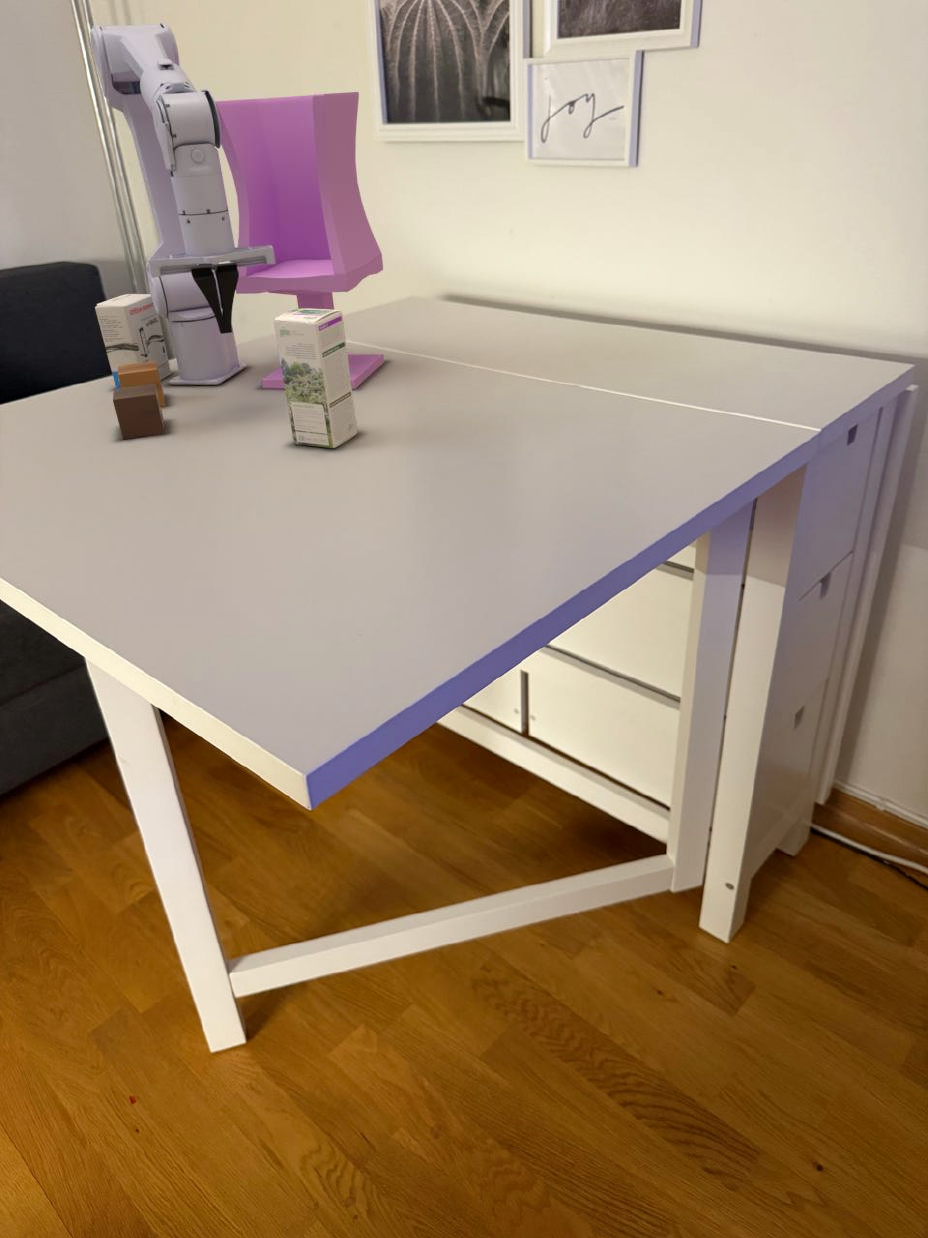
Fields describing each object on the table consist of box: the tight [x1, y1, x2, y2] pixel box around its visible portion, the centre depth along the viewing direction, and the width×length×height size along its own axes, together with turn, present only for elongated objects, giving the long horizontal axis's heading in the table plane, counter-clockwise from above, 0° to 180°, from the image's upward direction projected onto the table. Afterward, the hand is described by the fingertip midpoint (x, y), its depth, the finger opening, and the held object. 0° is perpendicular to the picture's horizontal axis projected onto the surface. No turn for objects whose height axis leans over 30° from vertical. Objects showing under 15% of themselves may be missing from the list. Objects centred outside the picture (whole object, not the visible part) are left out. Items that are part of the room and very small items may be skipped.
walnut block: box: [112, 384, 166, 440], centre depth 111 cm, size 5×5×5 cm
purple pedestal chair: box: [214, 91, 385, 390], centre depth 121 cm, size 16×16×35 cm
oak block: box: [118, 361, 166, 408], centre depth 121 cm, size 5×5×5 cm
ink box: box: [94, 293, 172, 389], centre depth 130 cm, size 9×5×12 cm, turn 168°
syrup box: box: [273, 308, 358, 449], centre depth 102 cm, size 6×6×14 cm
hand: (225, 331), depth 111 cm, fingers closed
